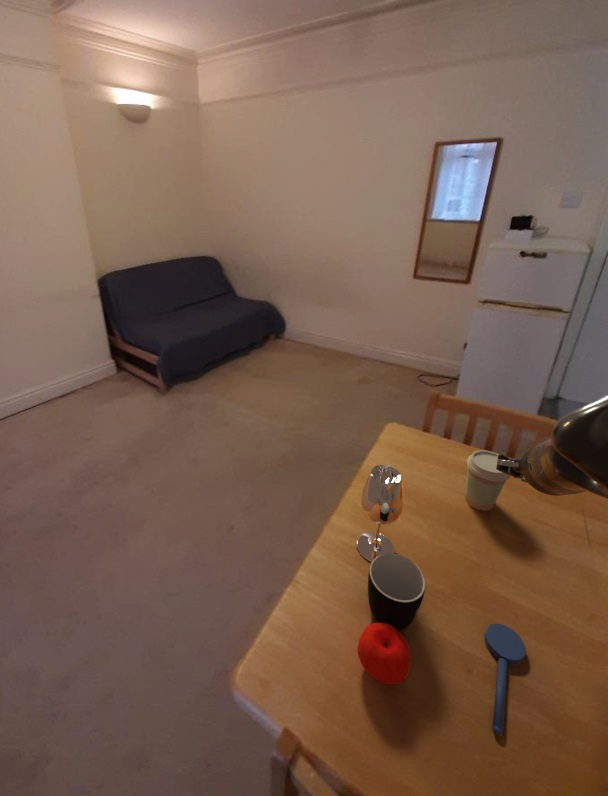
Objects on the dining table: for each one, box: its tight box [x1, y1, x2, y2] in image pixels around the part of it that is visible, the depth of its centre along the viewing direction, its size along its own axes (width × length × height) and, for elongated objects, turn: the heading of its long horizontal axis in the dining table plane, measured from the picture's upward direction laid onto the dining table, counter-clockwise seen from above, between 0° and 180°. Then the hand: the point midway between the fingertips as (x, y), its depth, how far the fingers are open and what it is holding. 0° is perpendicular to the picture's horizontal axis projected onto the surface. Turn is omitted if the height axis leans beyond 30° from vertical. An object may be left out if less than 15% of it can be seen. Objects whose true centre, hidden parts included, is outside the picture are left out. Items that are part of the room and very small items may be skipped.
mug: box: [367, 552, 426, 632], centre depth 71 cm, size 12×9×10 cm
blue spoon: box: [483, 623, 527, 737], centre depth 62 cm, size 16×6×1 cm, turn 147°
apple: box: [357, 622, 411, 685], centre depth 63 cm, size 8×8×7 cm
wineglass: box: [356, 464, 405, 563], centre depth 80 cm, size 8×8×20 cm
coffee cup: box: [464, 449, 511, 511], centre depth 92 cm, size 8×9×12 cm
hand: (526, 476), depth 73 cm, fingers closed
